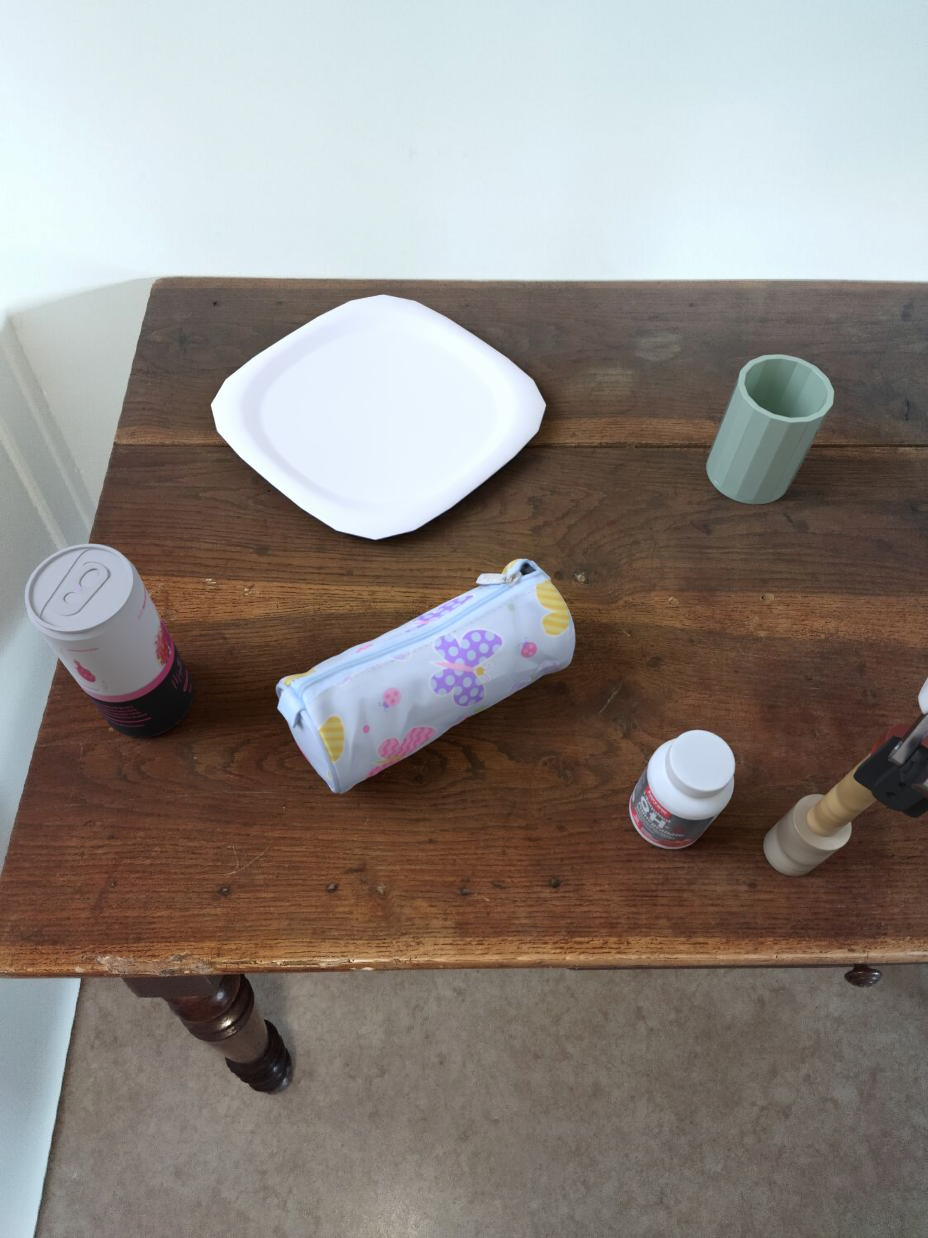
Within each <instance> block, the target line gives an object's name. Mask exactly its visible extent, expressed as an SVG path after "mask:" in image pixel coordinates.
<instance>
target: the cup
mask: <svg viewBox="0 0 928 1238" xmlns="http://www.w3.org/2000/svg"><path fill="white" fill-rule="evenodd" d="M834 398H835V389H834V388H833V385H832V383H831V381H830V378H829V377H828V376H827V375H826V374H825V373H824V372H822V370H821V369H819V368H818V367H817V366H816V365H814V364H812V363H810V362H808V361H806V360H805V359H802V358H801V357H797V356H792V355H788V354H787V355H786V354H781V353H779V354H777V353H776V354H763V355H761V356H758V357H756V358H753V359H751V360H749V361H748V362H747V363H746V364H745V365H744V366H743V367H742V368H741V369H740V370H739V373H738V376H737V378H736V381H735V383H734V386H733V388H732V391H731V394H730V397H729V400H728V401H727V404H726V407H725V410H724V412H723V414H722V417H721V420H720V423H719V425H718V428H717V431H716V433H715V436H714V438H713V441H712V443H711V446H710V449H709V452H708V456H707V458H706V463H705V470H706V474H707V476H708V480H709V481H710V483H711V484H712V485H713V486H714V488H715V489H716V490H717V491H718V492H719V493H721V494H723V495H724V496H725V497H727V498H729V499H730V500H733V501H736V502H739V503H742V504H747V505H765V504H766V505H767V504H770V503H773V502H775V501H777V500H778V499H780V498H781V497H783V496H784V495H785V494H786V493H787V492H788V491H789V488H790V486H791V485H792V484H793V482H794V480H795V478H796V476H797V474H798V472H799V471H800V469H801V467H802V464H803V463H804V461H805V459H806V457H807V456H808V453H809V451H810V449H811V448H812V445H813V444H814V442H815V440H816V438H817V436H818V434H819V432H820V430H821V428H822V426H823V425H824V422H825V421H826V419H827V417H828V415H829V413H830V411H831V409H832V408H833V405H834Z"/></svg>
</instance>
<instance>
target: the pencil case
mask: <svg viewBox="0 0 928 1238" xmlns="http://www.w3.org/2000/svg"><path fill="white" fill-rule="evenodd" d="M475 584H477V585H479V586H477V587H474V588H473V589H470V590H467V591H466V592H464V593H462V594H460V595H458V596H456V597H454V598H452V599H449V600H447V601H445V602H443V603H440V604H439V605H438V606H436V607H434V608H432V609H430V610H428V611H426V612H424V613H422V614H421V615H419V616H417V617H414V618H413V619H411V620H409V621H407V622H405V623H403V624H402V625H400V626H399V627H396V628H393V629H391V630H389V631H386V632H385V633H384V634H381V635H380V636H378V637H376V638H374V639H372V640H368V641H366V642H363V643H360V644H357V645H354V646H352V647H349V648H347V649H346V650H344V651H343V652H341V653H339V654H337V655H333V656H332V657H329V658H328V659H325V660H323V661H322V662H320V663H318V664H316V665H315V666H313V667H312V668H310V669H309V670H308V671H306V672H303V673H296V674H292V675H287V676H284V677H282V678H281V679H280V680H279V681H278V683H277V684H276V686H275V693H276V695H277V698H278V703H277V710H278V712H279V713H280V714H281V715H282V716H283V718H285V720H286V722H287V724H288V728H289V730H290V733H291V734H292V736H293V739H294V742H295V743H296V745H297V746H298V748H299V750H300V752H301V753H302V755H303V756H304V758H305V759H306V760H307V761H308V763H309V764H310V765H311V767H312V768H313V769H314V770H315V772H316V773H317V775H319V776H320V778H322V780H323V781H325V782H326V784H327V786H328V787H329V788H330V790H331V792H332V793H334V794H340V795H342V794H344V793H346V792H348V791H350V790H351V789H352V788H353V787H354V786H356V785H357V784H360V783H361V782H363V781H365V780H367V779H368V778H370V777H373V776H376V775H377V774H379V773H380V772H381V771H383V770H385V769H387V768H389V767H391V766H393V765H394V764H397V763H399V762H401V761H402V760H404V759H406V758H408V757H410V756H411V755H413V754H415V753H417V752H418V751H419V750H421V749H422V748H424V747H426V746H427V745H429V744H431V743H432V742H434V741H435V740H437V739H438V738H440V737H441V736H442V735H444V734H445V733H446V732H447V731H448V730H450V729H452V728H453V727H454V726H457V725H459V724H460V723H462V722H463V721H464V720H466V719H467V718H470V717H472V716H474V715H476V714H479V713H480V712H483V711H485V710H486V709H489V708H491V707H492V706H494V705H496V704H497V703H499V702H501V701H503V700H504V699H506V698H508V697H510V696H512V695H513V694H515V693H516V692H518V691H520V690H522V689H524V688H526V687H528V686H529V685H531V684H533V683H535V682H536V681H537V680H539V679H541V677H543V676H545V675H549V674H554V673H557V672H560V671H563V670H565V669H566V668H567V667H569V665H570V664H571V663H572V659H573V656H574V652H575V647H576V630H575V623H574V620H573V617H572V614H571V612H570V609H569V607H568V605H567V603H566V601H565V599H564V598H563V596H562V595H561V593H560V592H559V590H558V589H557V587H556V586H555V585H554V584H553V583H552V578H551V576H549V575H548V574H547V573H546V572H545V571H544V570H543V569H542V568H541V567H540V566H539V565H538V564H537V563H536V562H535V561H534V560H530V559H528V558H516V559H514V560H512V561H510V562H509V563H508V564H507V565H505V567H504V568H503V570H502V572H501V573H480V574H479V576H478V577H477V579H476V581H475Z"/></svg>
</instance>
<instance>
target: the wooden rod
mask: <svg viewBox="0 0 928 1238" xmlns="http://www.w3.org/2000/svg"><path fill="white" fill-rule="evenodd" d="M912 725H913V724H910V723H903V722H902V723H897V724H894V725H892V726H891V727H890V728H889V729H888V730H886V732H885V733H884V734H883V735H881V736H880V737H879V738H878V739H877V740H876V741H875V742H874V743H873V744H872V746H871V750H870V752H869V753H868V754H867V755H866V756H865V757H864V758H862V760H861V761H860V762H858V764H857V765H855V767H853V768H852V769H851V770H850V771H849V772H848V773H847V774H846V775H845V776H844V777H843V778H842V779H840V780H839V782H837V783H836V784H835V785H834V786H833V787H832V788H831V789H830V790H828V792H827V793H825V794H820V793H819V794H817V793H814V794H808V795H805V796H802V798H801V799H799V800H798V801H797V802H796V803H795V804H794V805H793V806H792V807H791V808H790V809H789V810H788V811H787V812H786V813H785V814H784V815H783V816H782V817H781V818H780V819H779V820H778V821H777V822H776V823H775V824H774V825H773V826H772V827H771V828H770V829H769V830H768V831H767V832H766V834H765V836H764V838H763V852H764V855H765V858H766V860H767V861H768V863H769V864H770V865H771V866H772V867H773V868H774V869H775V870H776V871H777V872H779V873H780V874H782V875H786V876H789V877H795V878H796V877H802V876H806V875H807V874H809V873H811V871H813V870H814V869H816V867H818V866H819V865H820V864H822V863H823V862H824V861H825V860H827V859H828V858H829V857H831V856H832V855H833V854H835V853H836V852H837V851H838V850H840V849H841V848H842V847H844V846H845V845H846V844H847V843H848V842H849V840H850V838H851V835H852V821H853V820H854V819H855V818H856V817H858V816H859V815H860V814H862V813H863V812H864V811H865V810H866V809H867V808H869V807H870V806H871V805H873V804H874V803H875V802H876V801H878V800H877V799H875V798H874V796H873V795H872V793H871V791H870V790H868V789H867V788H865V787H864V786H862V785H861V784H859V783H858V782H857V781H855V779H854V778H853V775H854V773H855V771H856V770H857V768H858V766H860V765H861V764H862V763H863V762H864V761H865V760H866V759H867V758H869V757H870V756H871V755H872V754H873V753H874V752H875V751H876V750H878V749H879V748H880V747H881V746H882V745H883V744H884V743H885V742H887V741H888V740H889V739H890V738H891V737H892V736H893V735H894V736H896V737H900V738H902V737H903V736H904V735H905V734H906V732H907V731H908V730H909V729H910V727H911V726H912ZM921 744H922V745H924V746H925V747H927V748H928V735H927V737H926V738H925V739H924V740H923V742H922V743H921Z"/></svg>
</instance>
